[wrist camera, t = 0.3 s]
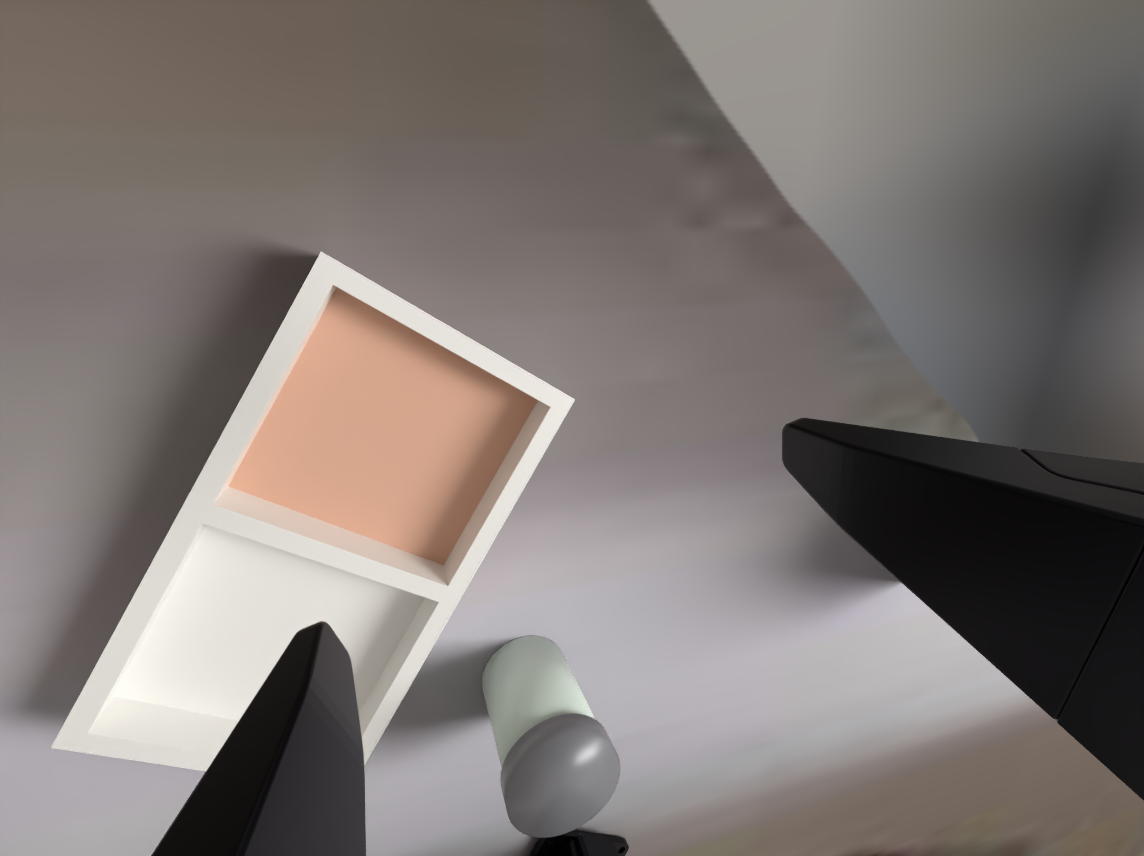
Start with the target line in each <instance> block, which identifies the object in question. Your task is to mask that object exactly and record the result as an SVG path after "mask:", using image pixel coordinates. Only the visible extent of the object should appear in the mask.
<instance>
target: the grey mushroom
mask: <svg viewBox="0 0 1144 856" xmlns="http://www.w3.org/2000/svg"><path fill="white" fill-rule="evenodd" d="M482 688H483V693H484V697H485V701H486V705H487V709H488V713H489V717H490V721H491V726H492V730H493V734H494V738H495V742H496V746H497V750H498V754H499V758H500V763H501V767H502V770H501V778H500V780H501V788H502V792H503V796H504V801H505V805H506V809H507V813H508V817H509V819H510V821H511V823H512V824H513V826H514V827H515V828H516V829H517V830H519V831H520V832H522V833H523V834H526V835H528V836H532V837H540V838H546V837H554V836H559V835H562V834H565V833H568V832H570V831H573V830H575V829H577V828H578V827H580V826H582V825H583V824H585V823H586V822H588V821H589V820H590V819H592V818H593V817H594V816H595V815H596V814H597V813H598V812H599V811H600V810H601V809H602V808H603V807H604V806H605V805H606V803H607V802H608V801H609V799H610V798H611V796H612V794H613V793H614V791H615V788H616V786H617V784H618V780H619V776H620V761H619V757H618V754H617V752H616V750H615V748H614V746H613V744H612V742H611V740H610V738H609V736H608V734H607V732H606V731H605V729H604V727H603V726H602V725H601V724H600V723H599V722H598V721H597V720H595V718H594V716H593V714H592V712H591V710H590V708H589V706H588V704H587V702H586V700H585V698H584V696H583V694H582V692H581V690H580V688H579V686H578V684H577V682H576V680H575V678H574V676H573V674H572V672H571V670H570V668H569V666H568V663H567V661H566V659H565V657H564V655H563V653H562V651H561V650H560V648H559V647H558V645H557V644H556V643H554V642H553V641H552V640H550V639H548V638H545V637H542V636H524V637H520V638H517V639H514V640H512V641H510V642H508V643H506V644H505V645H503V646H502V647H501V648H499V649H498V650H497V651H496V652H495V653H494V654H493V655H492V657H491V658H490V659H489V661H488V662H487V664H486V666H485V669H484V671H483V675H482Z"/></svg>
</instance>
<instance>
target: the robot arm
mask: <svg viewBox="0 0 1144 856" xmlns="http://www.w3.org/2000/svg"><path fill="white" fill-rule="evenodd" d="M782 460H783V463H784V466H785V467H786V469H787V470H788V472H789V473H790V474H791V475H792V476H793V477H794V478H795V479H796V480H797V481H798V482H799V484H800V485H801V486H802V487H803V488H804V489H805V490H806V491H807V492H808V493H809V495H810V496H811V497H812V498H813V499H814V500H815V501H816V502H817V503H818V504H819V505H820V507H821V508H822V509H823V510H824V511H825V512H826V513H827V514H828V515H829V516H830V517H831V518H832V519H833V520H834V522H835V523H836V524H837V525H839V526H840V527H841V528H842V529H843V530H844V531H845V532H846V533H847V534H848V535H849V536H850V537H851V538H853V539H854V540H855V541H856V542H857V543H858V544H859V545H860V546H861V547H863V548H864V549H865V550H866V551H867V552H868V553H869V554H870V555H872V556H873V557H874V558H875V559H876V560H877V561H878V562H879V563H880V564H882V565H883V566H884V567H885V568H886V569H887V570H888V571H889V572H890V573H892V574H893V575H894V576H895V577H896V578H897V579H898V580H899V581H900V582H902V583H903V584H904V585H905V586H906V587H907V588H908V589H909V590H910V591H912V592H913V593H914V594H915V595H916V596H917V597H918V598H919V599H921V600H922V601H923V602H924V603H925V604H926V605H927V606H928V607H929V608H931V609H932V610H933V611H934V612H935V613H936V614H937V615H938V616H939V617H941V618H942V619H943V620H944V621H945V622H946V623H947V624H948V625H949V626H951V627H952V628H953V629H954V630H955V631H956V632H957V633H958V634H959V635H961V636H962V637H963V638H964V639H965V640H966V641H967V642H968V643H969V644H971V645H972V646H973V647H974V648H975V649H976V650H977V651H978V652H980V653H981V654H982V655H983V656H984V657H985V658H986V659H987V660H988V661H990V662H991V663H992V664H993V665H994V666H995V667H996V668H997V669H998V670H1000V671H1001V672H1002V673H1003V674H1004V675H1005V676H1006V677H1007V678H1008V679H1010V680H1011V681H1012V682H1013V683H1014V684H1015V685H1016V686H1017V687H1018V688H1020V689H1021V690H1022V691H1023V692H1024V693H1025V694H1026V695H1027V696H1029V697H1030V698H1031V699H1032V700H1033V701H1034V702H1035V703H1036V704H1037V705H1039V706H1040V707H1041V708H1042V709H1043V710H1044V711H1045V712H1046V713H1047V714H1049V715H1050V716H1051V717H1052V718H1053V719H1057V720H1056V721H1057V723H1058V724H1059V725H1060V726H1061V727H1063V728H1064V729H1065V730H1066V731H1067V732H1068V733H1069V734H1070V735H1071V736H1073V737H1074V738H1075V739H1076V740H1077V741H1078V742H1079V743H1080V744H1082V745H1083V746H1084V747H1085V748H1086V749H1087V750H1088V751H1089V752H1090V753H1092V754H1093V755H1094V756H1095V757H1096V758H1097V759H1098V760H1099V761H1100V762H1102V763H1103V764H1104V765H1105V766H1106V767H1107V768H1108V769H1109V770H1110V771H1112V772H1113V773H1114V774H1115V775H1116V776H1117V777H1118V778H1119V779H1120V780H1122V781H1123V782H1124V783H1125V784H1126V785H1127V786H1128V787H1129V788H1130V789H1132V790H1133V791H1134V792H1135V793H1136V794H1137V795H1138V796H1139V797H1140V798H1142V799H1143V800H1144V463H1138V462H1128V461H1119V460H1108V459H1100V458H1091V457H1083V456H1075V455H1067V454H1059V453H1052V452H1045V451H1038V450H1030V449H1021V450H1020V449H1018V448H1015V447H1009V446H1001V445H994V444H987V443H980V442H973V441H966V440H959V439H952V438H945V437H937V436H930V435H923V434H916V433H909V432H902V431H895V430H888V429H881V428H874V427H866V426H859V425H852V424H845V423H838V422H831V421H824V420H817V419H810V418H800V419H797V420H795V421H793V422H790V423H788V424H786V425H785V426H784V428H783V431H782ZM628 849H629V846H628V844H627V842H626V840H625V838H622V837H615V836H608V835H601V834H594V833H587V832H581V831H574V830H573V831H570V832H568V833H565V834H562V835H559V836H554V837H546V838H540V839H539V841H538V843H537V844H536V846H535V848H534V849H533V851H532V853H531V855H530V856H625V854H626V853H627V851H628ZM151 856H366V834H365V775H364V752H363V743H362V735H361V728H360V720H359V713H358V706H357V698H356V691H355V684H354V676H353V669H352V662H351V659H350V656H349V653H348V651H347V650H346V648H345V647H344V645H343V644H342V642H341V641H340V639H339V638H338V637H337V635H336V634H335V632H334V631H333V629H332V628H331V626H330V625H329V624H328V623H326V622H325V621H320V622H317V623H315V624H312V625H310V626H308V627H305V628H303V629H301V630H299V631H298V632H297V633H296V634H295V635H294V637H293V638H292V640H291V641H290V643H289V644H288V646H287V648H286V649H285V651H284V652H283V654H282V655H281V657H280V658H279V660H278V661H277V663H276V664H275V666H274V668H273V669H272V671H271V672H270V674H269V675H268V677H267V678H266V680H265V681H264V683H263V684H262V686H261V688H260V689H259V691H258V692H257V694H256V695H255V697H254V698H253V700H252V701H251V703H250V704H249V706H248V708H247V709H246V711H245V712H244V714H243V715H242V717H241V718H240V720H239V721H238V723H237V724H236V726H235V728H234V729H233V731H232V732H231V734H230V735H229V737H228V738H227V740H226V741H225V743H224V745H223V746H222V748H221V749H220V751H219V752H218V754H217V755H216V757H215V758H214V760H213V761H212V763H211V765H210V766H209V768H208V769H207V771H206V772H205V774H204V775H203V777H202V778H201V780H200V781H199V783H198V785H197V786H196V788H195V789H194V791H193V792H192V794H191V795H190V797H189V798H188V800H187V801H186V803H185V805H184V806H183V808H182V809H181V811H180V812H179V814H178V815H177V817H176V818H175V820H174V821H173V823H172V825H171V826H170V828H169V829H168V831H167V832H166V834H165V835H164V837H163V838H162V840H161V841H160V843H159V845H158V846H157V848H156V849H155V851H154V852H153V854H152V855H151Z"/></svg>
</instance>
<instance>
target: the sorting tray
mask: <svg viewBox="0 0 1144 856" xmlns="http://www.w3.org/2000/svg"><path fill="white" fill-rule="evenodd" d="M574 400H575V399H573V398H571V397H570V396H568V395H566V394H565V393H563V392H561V391H559V390H558V389H556V388H554V387H553V386H551V385H549V384H547V383H546V382H544V381H542V380H541V379H539V378H537V377H535V376H534V375H532V374H530V373H529V372H527V371H525V370H523V369H522V368H520V367H518V366H517V365H515V364H513V363H511V362H510V361H508V360H506V359H505V358H503V357H501V356H499V355H498V354H496V353H494V352H493V351H491V350H489V349H487V348H486V347H484V346H482V345H481V344H479V343H477V342H475V341H474V340H472V339H470V338H469V337H467V336H465V335H463V334H462V333H460V332H458V331H457V330H455V329H453V328H451V327H450V326H448V325H446V324H445V323H443V322H441V321H439V320H438V319H436V318H434V317H433V316H431V315H429V314H427V313H426V312H424V311H422V310H421V309H419V308H417V307H415V306H414V305H412V304H410V303H409V302H407V301H405V300H403V299H402V298H400V297H398V296H397V295H395V294H393V293H391V292H390V291H388V290H386V289H385V288H383V287H381V286H379V285H378V284H376V283H374V282H373V281H371V280H369V279H367V278H366V277H364V276H362V275H361V274H359V273H357V272H355V271H354V270H352V269H350V268H349V267H347V266H345V265H343V264H342V263H340V262H338V261H337V260H335V259H333V258H331V257H330V256H328V255H326V254H325V253H323V252H321V253H320V254H319V256H318V258H317V260H316V262H315V264H314V265H313V267H312V269H311V271H310V273H309V275H308V276H307V278H306V280H305V282H304V284H303V286H302V288H301V289H300V291H299V293H298V295H297V297H296V299H295V300H294V302H293V304H292V306H291V308H290V310H289V311H288V313H287V315H286V317H285V319H284V321H283V322H282V324H281V326H280V328H279V330H278V332H277V333H276V335H275V337H274V339H273V341H272V343H271V344H270V346H269V348H268V350H267V352H266V354H265V355H264V357H263V359H262V361H261V363H260V365H259V366H258V368H257V370H256V372H255V374H254V376H253V377H252V379H251V381H250V383H249V385H248V387H247V389H246V390H245V392H244V394H243V396H242V398H241V400H240V401H239V403H238V405H237V407H236V409H235V411H234V412H233V414H232V416H231V418H230V420H229V422H228V423H227V425H226V427H225V429H224V431H223V433H222V434H221V436H220V438H219V440H218V442H217V444H216V445H215V447H214V449H213V451H212V453H211V455H210V456H209V458H208V460H207V462H206V464H205V466H204V467H203V469H202V471H201V473H200V475H199V477H198V478H197V480H196V482H195V484H194V486H193V488H192V490H191V491H190V493H189V495H188V497H187V499H186V501H185V502H184V504H183V506H182V508H181V510H180V512H179V513H178V515H177V517H176V519H175V521H174V523H173V524H172V526H171V528H170V530H169V532H168V534H167V535H166V537H165V539H164V541H163V543H162V545H161V546H160V548H159V550H158V552H157V554H156V556H155V557H154V559H153V561H152V563H151V565H150V567H149V568H148V570H147V572H146V574H145V576H144V578H143V579H142V581H141V583H140V585H139V587H138V589H137V591H136V592H135V594H134V596H133V598H132V600H131V602H130V603H129V605H128V607H127V609H126V611H125V613H124V614H123V616H122V618H121V620H120V622H119V624H118V625H117V627H116V629H115V631H114V633H113V635H112V636H111V638H110V640H109V642H108V644H107V646H106V647H105V649H104V651H103V653H102V655H101V657H100V658H99V660H98V662H97V664H96V666H95V668H94V669H93V671H92V673H91V675H90V677H89V679H88V681H87V682H86V684H85V686H84V688H83V690H82V692H81V693H80V695H79V697H78V699H77V701H76V703H75V704H74V706H73V708H72V710H71V712H70V714H69V715H68V717H67V719H66V721H65V723H64V725H63V726H62V728H61V730H60V732H59V734H58V736H57V737H56V739H55V741H54V743H53V745H52V747H51V748H55V749H61V750H68V751H75V752H81V753H88V754H95V755H101V756H108V757H115V758H121V759H128V760H134V761H141V762H148V763H154V764H161V765H168V766H174V767H181V768H188V769H194V770H201V771H207V769H208V768H209V766H210V765H211V763H212V761H213V760H214V758H215V757H216V755H217V754H218V752H219V751H220V749H221V748H222V746H223V745H224V743H225V741H226V740H227V738H228V737H229V735H230V734H231V732H232V731H233V729H234V728H235V726H236V724H237V723H238V721H239V720H240V718H241V717H242V715H243V714H244V712H245V711H246V709H247V708H248V706H249V704H250V703H251V701H252V700H253V698H254V697H255V695H256V694H257V692H258V691H259V689H260V688H261V686H262V684H263V683H264V681H265V680H266V678H267V677H268V675H269V674H270V672H271V671H272V669H273V668H274V666H275V664H276V663H277V661H278V660H279V658H280V657H281V655H282V654H283V652H284V651H285V649H286V648H287V646H288V644H289V643H290V641H291V640H292V638H293V637H294V635H295V634H296V633H297V632H298V631H299V630H301V629H303V628H305V627H308V626H310V625H312V624H315V623H317V622H320V621H325V622H326V623H328V624H329V625H330V626H331V628H332V629H333V631H334V632H335V634H336V635H337V637H338V638H339V639H340V641H341V642H342V644H343V645H344V647H345V648H346V650H347V651H348V653H349V656H350V659H351V662H352V669H353V676H354V684H355V691H356V698H357V706H358V713H359V720H360V728H361V735H362V743H363V752H364V766H365V764H366V762H367V760H368V759H369V757H370V755H371V753H372V752H373V750H374V748H375V747H376V745H377V743H378V741H379V740H380V738H381V736H382V734H383V733H384V731H385V729H386V727H387V726H388V724H389V722H390V720H391V719H392V717H393V715H394V713H395V712H396V710H397V708H398V707H399V705H400V703H401V701H402V700H403V698H404V696H405V694H406V693H407V691H408V689H409V687H410V686H411V684H412V682H413V680H414V679H415V677H416V675H417V674H418V672H419V670H420V668H421V667H422V665H423V663H424V661H425V660H426V658H427V656H428V654H429V653H430V651H431V649H432V647H433V646H434V644H435V642H436V640H437V639H438V637H439V635H440V634H441V632H442V630H443V628H444V627H445V625H446V623H447V621H448V620H449V618H450V616H451V614H452V613H453V611H454V609H455V607H456V606H457V604H458V602H459V600H460V599H461V597H462V595H463V594H464V592H465V590H466V588H467V587H468V585H469V583H470V581H471V580H472V578H473V576H474V574H475V573H476V571H477V569H478V567H479V566H480V564H481V562H482V560H483V559H484V557H485V555H486V554H487V552H488V550H489V548H490V547H491V545H492V543H493V541H494V540H495V538H496V536H497V534H498V533H499V531H500V529H501V527H502V526H503V524H504V522H505V520H506V519H507V517H508V515H509V514H510V512H511V510H512V508H513V507H514V505H515V503H516V501H517V500H518V498H519V496H520V494H521V493H522V491H523V489H524V487H525V486H526V484H527V482H528V480H529V479H530V477H531V475H532V474H533V472H534V470H535V468H536V467H537V465H538V463H539V461H540V460H541V458H542V456H543V454H544V453H545V451H546V449H547V447H548V446H549V444H550V442H551V440H552V439H553V437H554V435H555V434H556V432H557V430H558V428H559V427H560V425H561V423H562V421H563V420H564V418H565V416H566V414H567V413H568V411H569V409H570V407H571V406H572V404H573V402H574Z"/></svg>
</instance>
